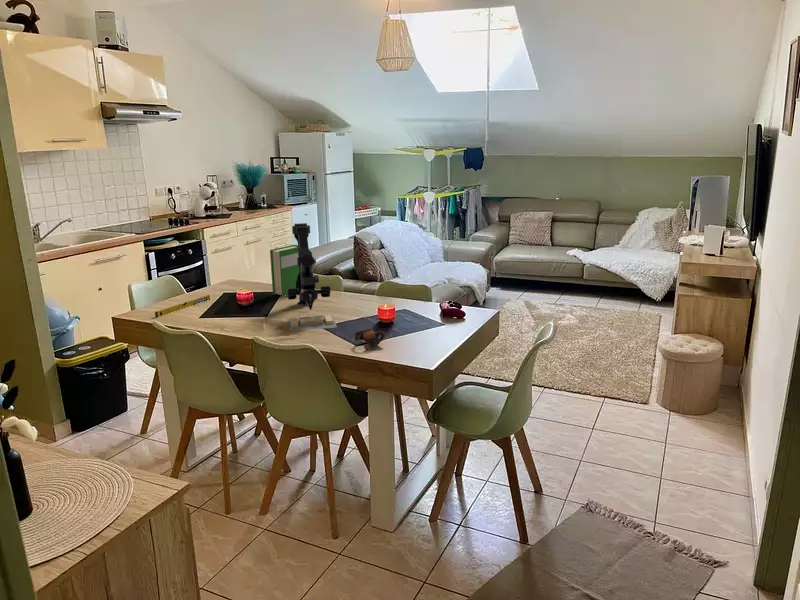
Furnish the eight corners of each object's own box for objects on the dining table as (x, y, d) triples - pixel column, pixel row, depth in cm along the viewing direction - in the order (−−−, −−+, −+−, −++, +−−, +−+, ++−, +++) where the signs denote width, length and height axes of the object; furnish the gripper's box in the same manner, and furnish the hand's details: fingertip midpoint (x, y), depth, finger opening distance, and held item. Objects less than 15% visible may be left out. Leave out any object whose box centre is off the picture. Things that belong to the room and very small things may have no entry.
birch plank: (299, 316, 268) (300, 321, 260) (321, 314, 270) (323, 319, 262) (299, 320, 268) (300, 325, 261) (322, 318, 270) (323, 324, 263)
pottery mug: (358, 352, 233) (352, 332, 234) (359, 355, 242) (353, 335, 243) (388, 343, 234) (381, 323, 235) (388, 346, 243) (381, 326, 244)
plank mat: (287, 320, 272) (287, 314, 272) (332, 317, 277) (331, 311, 276) (289, 333, 254) (289, 327, 254) (337, 329, 259) (336, 323, 258)
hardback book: (283, 296, 313) (280, 251, 307) (272, 295, 317) (269, 249, 311) (306, 289, 327) (303, 245, 321) (296, 287, 331) (293, 244, 325)
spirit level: (157, 318, 280) (156, 311, 279) (155, 317, 280) (154, 311, 279) (210, 300, 308) (209, 295, 307) (208, 300, 309) (207, 294, 308)
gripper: (286, 270, 263) (289, 301, 256) (329, 268, 267) (333, 298, 260) (286, 284, 273) (289, 314, 265) (327, 281, 277) (331, 311, 269)
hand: (310, 309), depth 265 cm, fingers closed
